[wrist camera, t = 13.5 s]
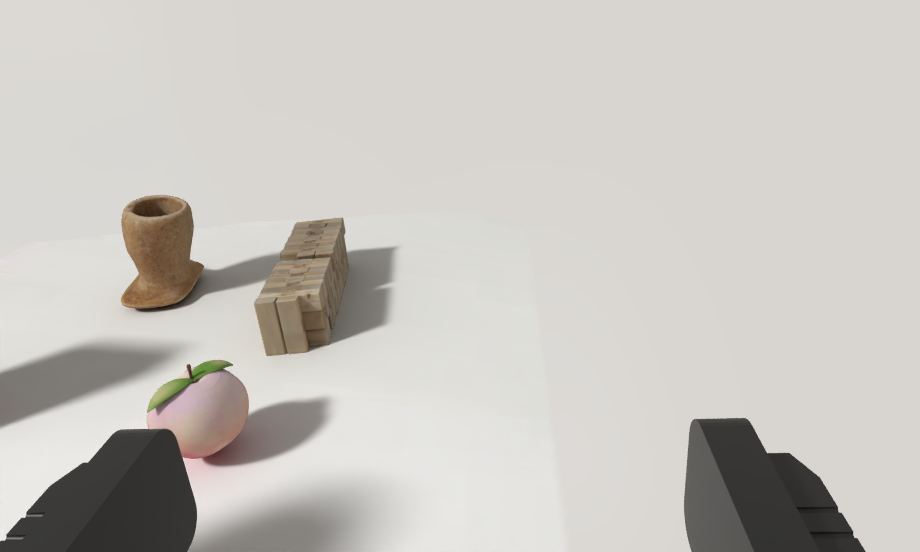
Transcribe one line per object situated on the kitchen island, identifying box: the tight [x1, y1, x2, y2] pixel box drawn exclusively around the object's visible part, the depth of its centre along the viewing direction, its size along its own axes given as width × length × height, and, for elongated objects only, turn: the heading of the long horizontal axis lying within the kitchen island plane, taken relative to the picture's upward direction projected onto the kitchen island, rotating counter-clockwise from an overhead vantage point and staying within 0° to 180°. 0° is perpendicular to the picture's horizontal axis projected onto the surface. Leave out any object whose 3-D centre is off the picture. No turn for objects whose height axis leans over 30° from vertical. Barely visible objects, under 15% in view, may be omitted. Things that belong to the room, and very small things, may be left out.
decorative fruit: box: [147, 360, 249, 459], centre depth 65 cm, size 9×8×10 cm
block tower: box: [254, 218, 349, 356], centre depth 96 cm, size 8×8×29 cm
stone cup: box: [121, 195, 204, 308], centre depth 102 cm, size 15×12×15 cm
